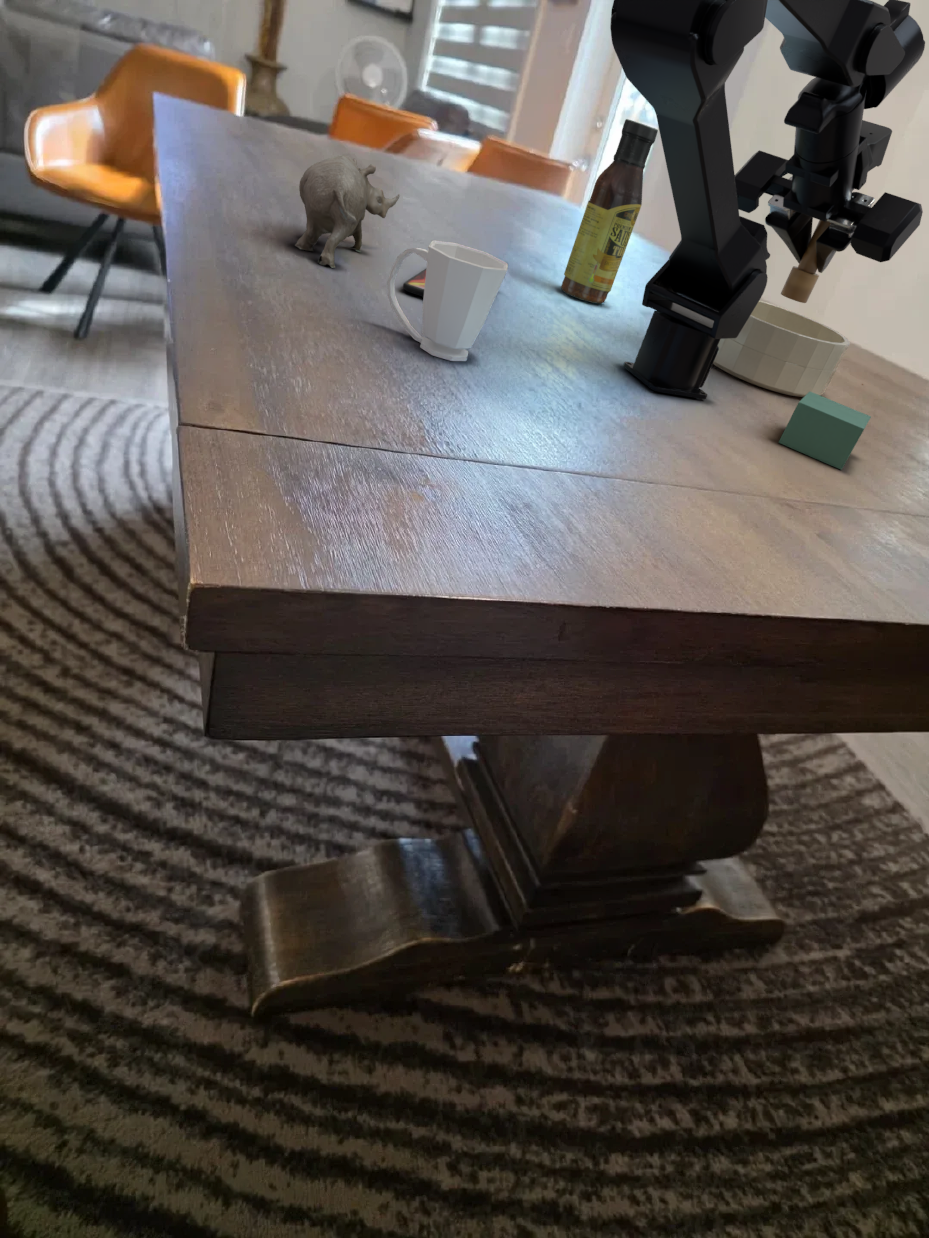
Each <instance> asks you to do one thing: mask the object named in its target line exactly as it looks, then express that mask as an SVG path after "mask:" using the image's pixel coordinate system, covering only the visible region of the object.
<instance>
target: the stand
mask: <svg viewBox="0 0 929 1238" xmlns="http://www.w3.org/2000/svg"><path fill="white" fill-rule="evenodd" d="M871 418H872V416H871V415H869V414H866V413H864V412H861V411H859V410H856V409H854V408H851V407H849V406H847V405H844V404H842V403H840V402H837V401H834V400H832V399H830V398H827V397H824V396H822V395H818V394H815V393H813V392H808V393H807V394H806V395H805V396H804V397H801V399H800V400H799V401H798V403H797V404H796V406H795V409H794V410H793V412H792V414H791V416H790V418H789V421H788V422H787V424H786V427H785V429H784V431H782V435H781V436H780V439H779V440H778V444H780V445H783V446H785V447H787V448H790V449H792V450H794V451H796V452H799V453H801V454H804V455H806V456H808V457H811V458H812V459H815V460H817V461H819V462H822V463H824V464H827V465H829V466H831V467H833V468H836V469H838V470H840V471H842V470H843V469H844V466H845V464H846V463H847V461H848V459H849V457H850V456H851V454H852V452H853V451H854V448H855V447H856V445H857V443H858V442H859V440H860V438H861V436H862V434H863V432H864V430H865V429H866V427H867V425H868V423H869V421H870V420H871Z"/></svg>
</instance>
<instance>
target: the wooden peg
mask: <svg viewBox="0 0 929 1238" xmlns="http://www.w3.org/2000/svg"><path fill="white" fill-rule="evenodd" d="M830 224H831V223H830V222H828V221H826V222H824V221H821V220H819V219H818V223H817V225H816V227H815V229H814V230H813V232H812V236H811V240H810V242H809V244H808V246H807V248H806V250H805V253H804V255H803V257H802V259H801V261H800V263H798V265H797V266H792V267H791V269H790V272H789V273H788V276H787V279H786V280H785V283H784V284H783V287H782V288H781V291H780V295H781V296H783V297H785V298H786V299H789V300H791V301H795V302H797V303H801V304H806V303H807V302H808V301H809V298H810V296H811V294H812V292H813V290H814V288H815V286H816V283H817V281H818V280H819V278H820V275H819V274H818V273H817V272H818V269H817V259H816V240H817V239H818V238H819V237H820V236H821V234H822V233H823V232H824V231H825V230H826V229H827V228H828V226H829V225H830Z"/></svg>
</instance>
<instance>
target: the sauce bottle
mask: <svg viewBox="0 0 929 1238" xmlns="http://www.w3.org/2000/svg"><path fill="white" fill-rule="evenodd" d="M658 133H659V128H658V129H657V128H656V127H652V126H650V125H648V124H644V123H642V122H638V121H636V120H632V119H629V118H625V120H624V123H623V126H622V129H621V136H620V139H619V142H618V144H617V145H618V146H617V149H616V151H615V153H614V155H613V160H612V162H611V163H610V164H609V165H608V166H607V167H606V168H605V169H604V170H603V171H602V172H601V173H600V174H599V175H598V176H597V178H596V181H595V183H594V186H593V189H592V192H591V195H590V198H589V200H588V201H587V204H586V206H585V210H584V212H583V215H582V218H581V222H580V225H579V227H578V228H579V229H578V231H577V233H576V237H575V239H574V242H573V246H572V250H570V251H571V252H570V255H569V258H568V261H567V264H566V267H565V270H564V273H563V275H564V276H563V277H564V278H563V280H562V283H561V286H560V288H561V290H562V291H563V292H564V293H565V294H567V295H568V296H571V297H574V298H575V299H578V300H580V301H585V302H589V303H593V304H601V305H602V304H603V303H605V302H606V300H607V298H608V295H609V293H610V292H611V291H612V288H613V286H614V282H615V280H616V277H617V275H618V272H619V270H620V266H621V263H622V261H623V257H624V254H625V253H626V249H627V247H628V244H629V241H630V239H631V237H632V236H631V235H632V233H633V230H634V227H635V225H636V223H637V219H638V217H639V214H640V211H641V209H642V205H643V187H644V183H643V181H644V170H645V168H646V163H647V160H648V156H649V154H650V153H651V152H650V151H651V148H652V146H653V145H654V143H655V142H656V139H657V135H658Z"/></svg>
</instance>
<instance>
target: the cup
mask: <svg viewBox="0 0 929 1238" xmlns="http://www.w3.org/2000/svg"><path fill="white" fill-rule="evenodd" d="M413 253H414V254H416V256H419V257H420V258H422V259H423V260H425V262H426V268H425V269H426V279H425V288H424V297H422V298H423V299H422V300H423V301H422V311H421V313H422V314H421V315H422V316H421V319H422V320H421V321H422V323H421V325H422V326H421V327H422V328H421V329H422V330H421V333H422V335H423V336H422V335H420V333H419V332H418V331H417V330H416V329H415V328H414V327H413V326H412V324H411V322H410V321H409V319H408V318H407V316H406V314H405V312H404V311H403V309H402V308H401V306H400V304H399V301H398V299H397V296H396V286H395V285H396V283H395V282H396V279H397V276H398V273H399V270H400V268H401V267H402V264H403V262H404V260H406V259H407V258H408V257H409V256H411V255H412V254H413ZM508 269H509V263H507V262H506V261H504V260H502V259H500V258H498V257H496V256H494V255H492V254H491V253H488V252H486V251H483V250H480V249H476V248H473V247H470V246H467V245H464V244H461V243H458V242H449V241H443V240H442V241H441V240H435V239H433V240H431V242H430V243H429V245H428V248H427V249H425V248H420V247H411V248H406V249H405V250H404V251H403V252H402V253H400V254H399V255H398V256H397V257H396V259H395V261H394V263H393V265H392V266H391V269H390V271H389V275H388V278H387V281H386V285H387V290H386V291H387V298H388V301H389V303H390V306H391V308H392V310H393V313H394V314H395V316H396V317H397V319H398V320H399V322H400V324H401V325H402V326H403V329H404V330H405V331H406V332H407V334H409V336H411V338H412V339H413V340H414V341H416V342H419V343H420V345H419V348H420V349H422V350H423V351H425V352H426V353H428V354H429V355H431V356H434V357H437V358H439V359H444V360H446V361H450V362H467V360H468V356H469V351H468V350H470V349H471V348H472V347H473V345H474V343H475V341H476V340H477V338H478V336H479V334H480V333H481V331H482V329H483V327H484V325H485V323H486V321H487V318H488V316H489V313H490V311H491V308H492V306H493V304H494V301H495V300H496V298H497V295H498V293H499V291H500V288H501V287H502V284H503V282H504V279H505V277H506V275H507V272H508Z"/></svg>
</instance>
